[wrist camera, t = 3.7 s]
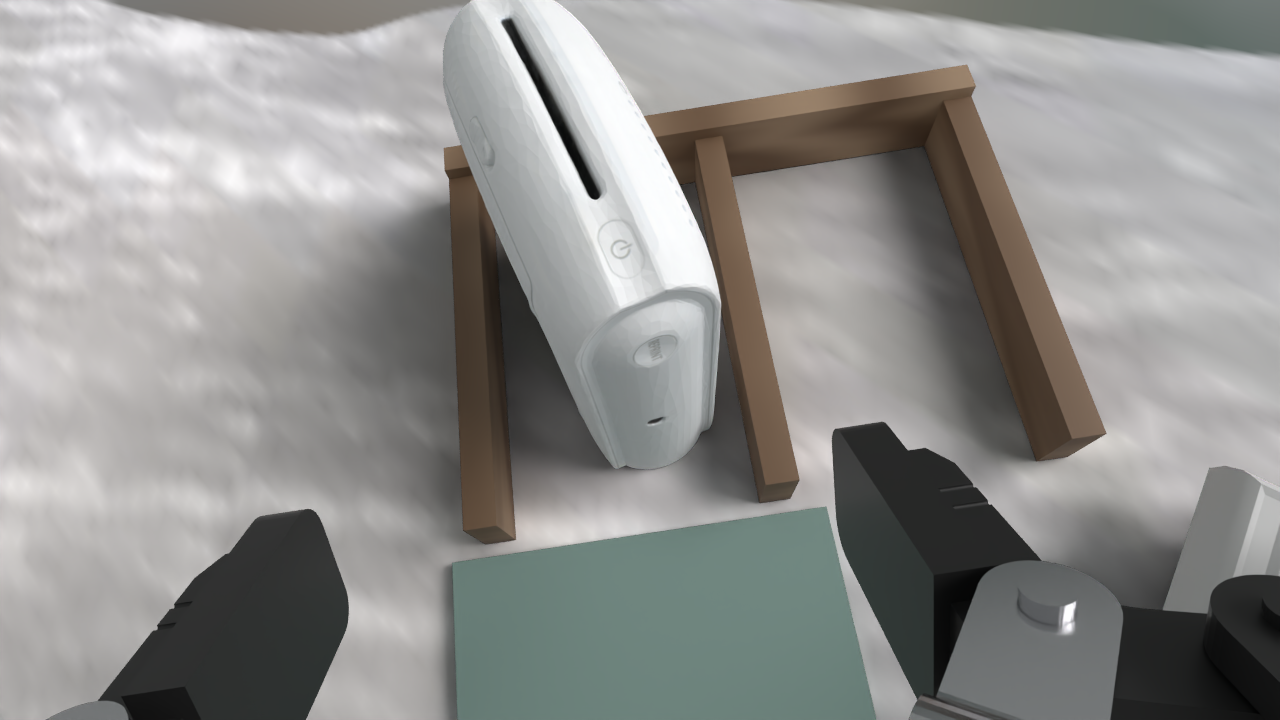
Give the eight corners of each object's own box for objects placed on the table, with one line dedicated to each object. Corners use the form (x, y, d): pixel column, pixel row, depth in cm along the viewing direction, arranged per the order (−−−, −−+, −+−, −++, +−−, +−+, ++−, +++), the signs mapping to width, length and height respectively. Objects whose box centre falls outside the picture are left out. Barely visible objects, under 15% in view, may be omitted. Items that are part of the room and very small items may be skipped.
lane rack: (942, 121, 29) (967, 64, 27) (1067, 456, 24) (1115, 428, 21) (467, 197, 30) (443, 148, 27) (485, 544, 24) (458, 527, 22)
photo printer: (731, 442, 25) (756, 250, 14) (613, 495, 25) (539, 341, 13) (613, 211, 29) (557, -88, 18) (510, 253, 29) (385, -25, 17)
